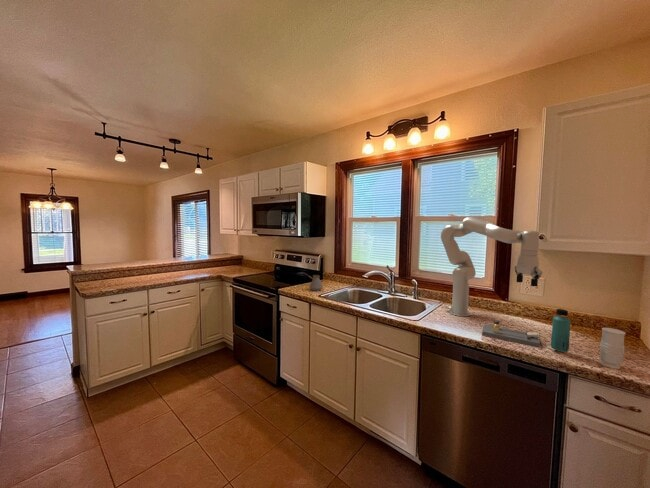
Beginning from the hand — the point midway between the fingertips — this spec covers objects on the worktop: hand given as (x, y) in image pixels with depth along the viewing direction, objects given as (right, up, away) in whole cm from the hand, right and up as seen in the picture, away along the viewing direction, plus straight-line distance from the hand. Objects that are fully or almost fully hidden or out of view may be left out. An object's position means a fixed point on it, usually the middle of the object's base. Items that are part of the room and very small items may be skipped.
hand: (526, 284), depth 146 cm
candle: (+9, -29, -35) cm, 46 cm away
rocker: (-6, -24, -12) cm, 27 cm away
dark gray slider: (-17, -24, -1) cm, 30 cm away
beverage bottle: (-2, -28, -23) cm, 37 cm away
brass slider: (-21, -24, -6) cm, 33 cm away
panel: (-14, -27, -7) cm, 31 cm away
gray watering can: (-124, -19, +89) cm, 154 cm away
